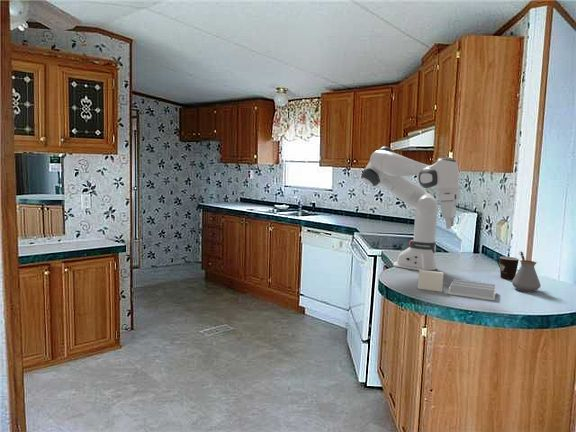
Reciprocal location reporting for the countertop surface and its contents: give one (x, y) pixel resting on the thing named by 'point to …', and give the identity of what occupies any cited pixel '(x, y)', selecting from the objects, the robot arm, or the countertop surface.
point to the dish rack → (472, 289)
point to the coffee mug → (508, 267)
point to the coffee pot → (526, 276)
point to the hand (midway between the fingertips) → (450, 227)
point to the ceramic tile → (430, 280)
